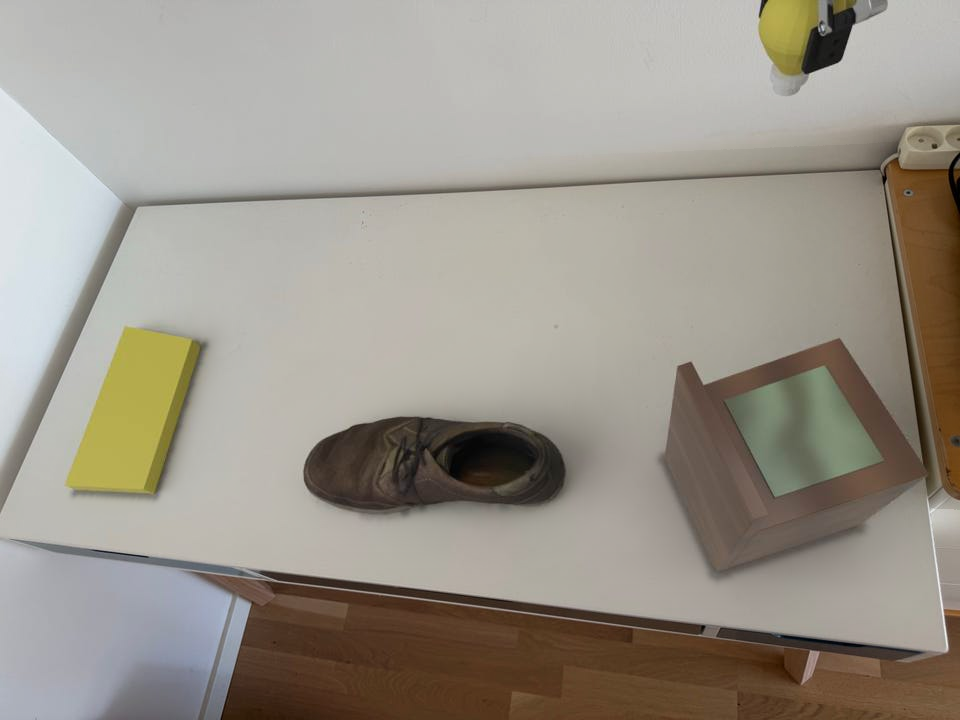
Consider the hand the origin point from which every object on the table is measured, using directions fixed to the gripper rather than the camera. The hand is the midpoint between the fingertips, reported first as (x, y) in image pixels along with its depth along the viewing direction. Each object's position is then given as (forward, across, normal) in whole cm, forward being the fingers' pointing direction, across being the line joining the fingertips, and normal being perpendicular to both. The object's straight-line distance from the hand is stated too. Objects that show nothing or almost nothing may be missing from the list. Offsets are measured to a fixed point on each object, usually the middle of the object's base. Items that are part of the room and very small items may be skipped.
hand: (798, 38), depth 55 cm
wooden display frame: (+31, -28, +12) cm, 44 cm away
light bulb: (+5, 0, 0) cm, 5 cm away
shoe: (+31, -15, +45) cm, 57 cm away
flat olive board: (+31, +8, +84) cm, 89 cm away
